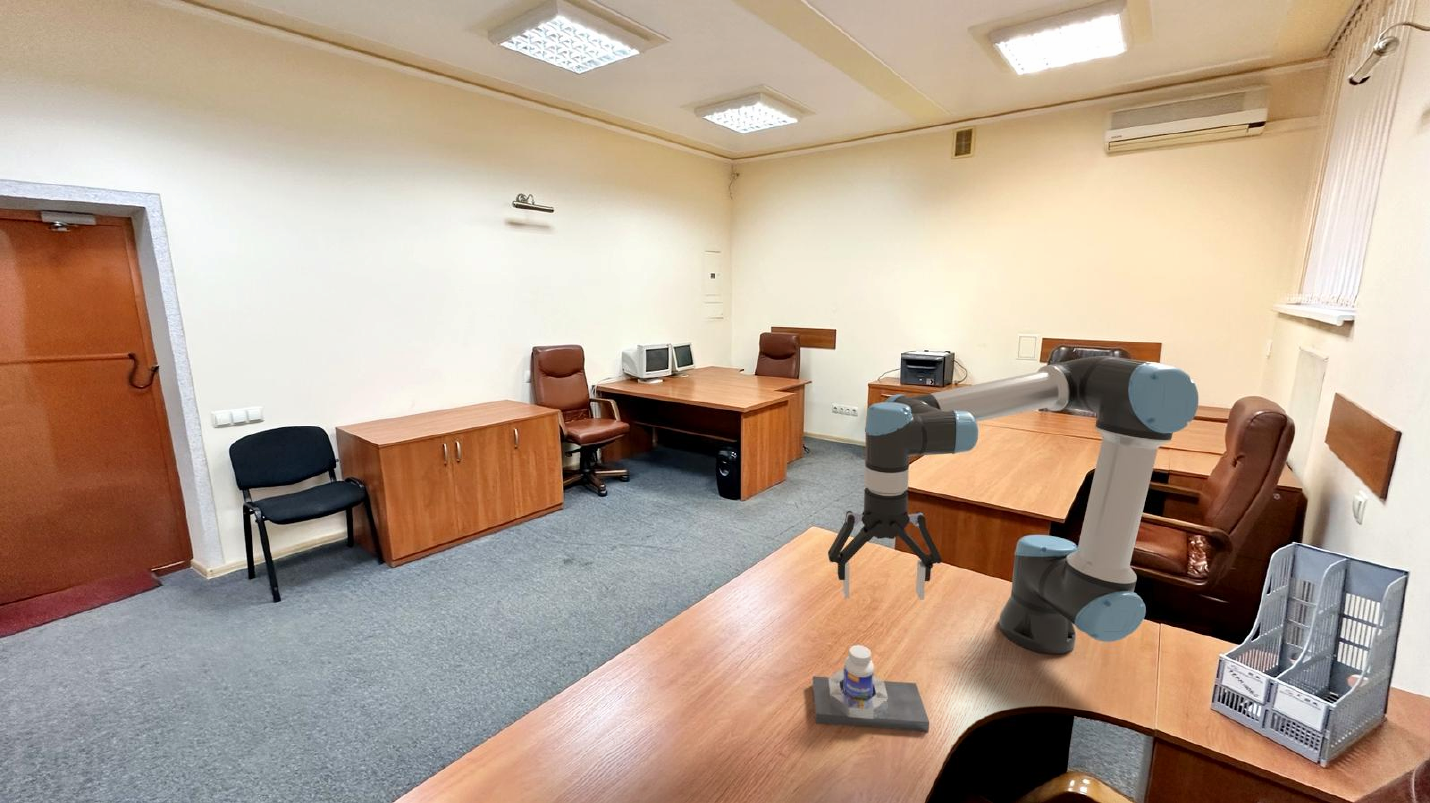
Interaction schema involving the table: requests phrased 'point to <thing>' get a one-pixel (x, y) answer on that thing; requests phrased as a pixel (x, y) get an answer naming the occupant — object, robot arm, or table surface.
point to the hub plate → (888, 719)
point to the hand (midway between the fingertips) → (882, 595)
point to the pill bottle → (858, 674)
